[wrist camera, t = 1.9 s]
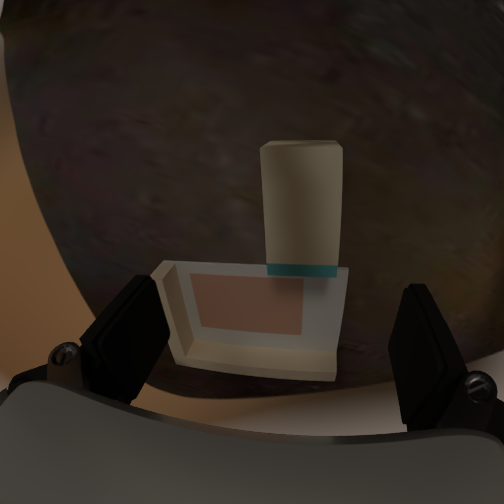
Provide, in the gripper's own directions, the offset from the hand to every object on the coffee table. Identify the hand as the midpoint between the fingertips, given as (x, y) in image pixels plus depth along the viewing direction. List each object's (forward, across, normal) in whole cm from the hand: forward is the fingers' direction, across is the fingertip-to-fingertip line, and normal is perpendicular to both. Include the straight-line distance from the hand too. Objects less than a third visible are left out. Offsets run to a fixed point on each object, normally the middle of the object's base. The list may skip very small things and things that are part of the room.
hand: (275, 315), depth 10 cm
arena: (+15, +4, +12) cm, 19 cm away
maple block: (+14, -1, 0) cm, 14 cm away
